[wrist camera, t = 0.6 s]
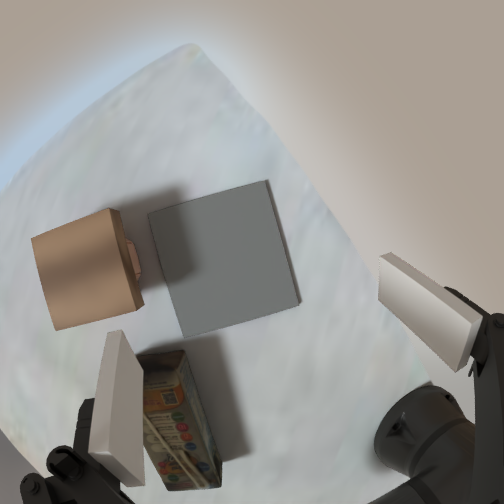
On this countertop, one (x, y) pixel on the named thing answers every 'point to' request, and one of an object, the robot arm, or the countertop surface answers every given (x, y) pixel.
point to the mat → (223, 259)
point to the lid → (87, 270)
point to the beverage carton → (177, 425)
